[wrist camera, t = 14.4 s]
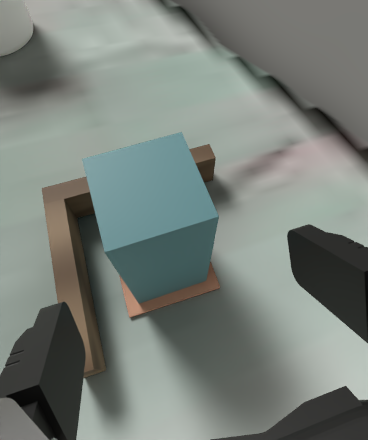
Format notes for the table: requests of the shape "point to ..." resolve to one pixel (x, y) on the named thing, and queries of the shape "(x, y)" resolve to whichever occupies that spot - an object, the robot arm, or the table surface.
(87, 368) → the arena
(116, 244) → the teal block
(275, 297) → the table surface
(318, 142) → the table surface
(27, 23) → the cup
